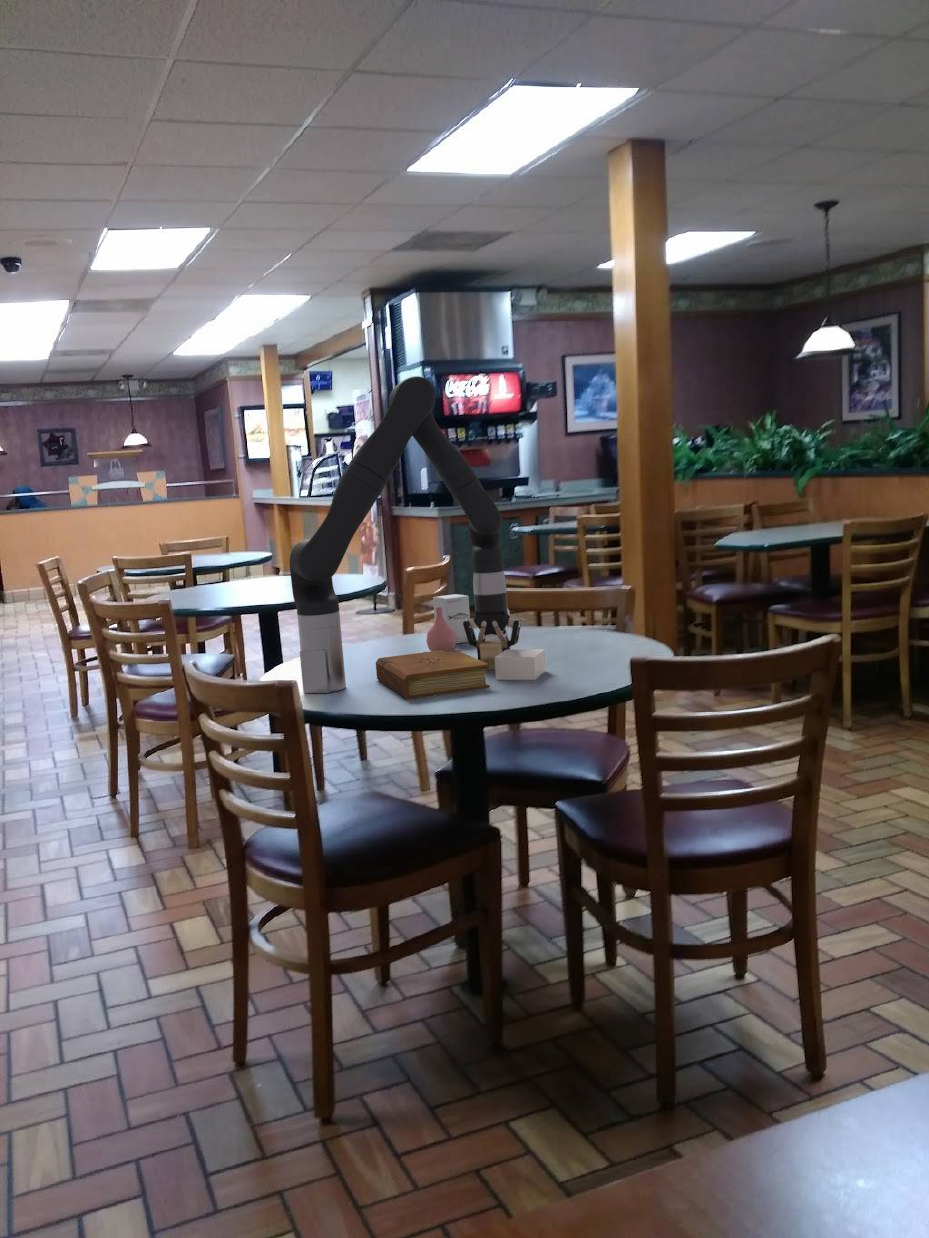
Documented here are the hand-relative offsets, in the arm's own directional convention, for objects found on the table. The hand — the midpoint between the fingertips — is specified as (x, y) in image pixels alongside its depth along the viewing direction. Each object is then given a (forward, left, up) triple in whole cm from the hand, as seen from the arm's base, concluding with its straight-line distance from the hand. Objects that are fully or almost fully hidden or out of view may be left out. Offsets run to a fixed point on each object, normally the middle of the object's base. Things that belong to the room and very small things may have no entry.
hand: (494, 662), depth 238 cm
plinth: (-9, -9, -1) cm, 13 cm away
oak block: (0, 0, -1) cm, 1 cm away
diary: (-18, +9, -2) cm, 20 cm away
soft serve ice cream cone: (+10, +3, -1) cm, 11 cm away
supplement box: (+33, +22, -1) cm, 40 cm away
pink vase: (+16, +19, -1) cm, 25 cm away
